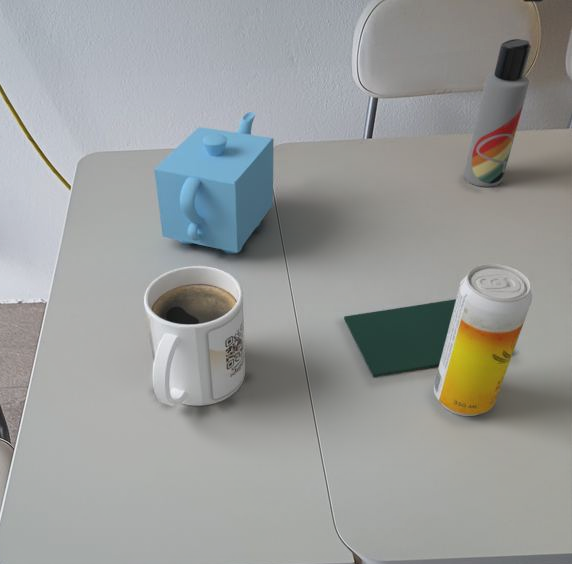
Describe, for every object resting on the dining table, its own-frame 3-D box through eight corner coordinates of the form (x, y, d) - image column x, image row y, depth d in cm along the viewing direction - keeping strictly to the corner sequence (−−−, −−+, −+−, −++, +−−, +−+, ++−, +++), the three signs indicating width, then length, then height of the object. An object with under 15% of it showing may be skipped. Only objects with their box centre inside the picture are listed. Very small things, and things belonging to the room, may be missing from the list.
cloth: (471, 299, 78) (471, 296, 78) (512, 354, 71) (513, 351, 71) (344, 318, 77) (344, 316, 76) (373, 377, 69) (373, 374, 69)
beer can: (501, 419, 64) (546, 301, 54) (440, 421, 65) (473, 304, 54) (483, 376, 69) (522, 259, 59) (426, 377, 69) (454, 262, 59)
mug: (265, 387, 69) (265, 307, 61) (165, 433, 65) (152, 353, 57) (217, 332, 76) (212, 254, 68) (123, 371, 72) (107, 292, 64)
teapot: (229, 275, 84) (225, 178, 75) (154, 257, 88) (141, 163, 78) (287, 194, 99) (289, 105, 89) (220, 182, 102) (216, 95, 93)
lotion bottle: (496, 190, 96) (534, 50, 83) (458, 182, 99) (489, 44, 85) (506, 174, 100) (544, 37, 86) (469, 166, 102) (500, 32, 89)
